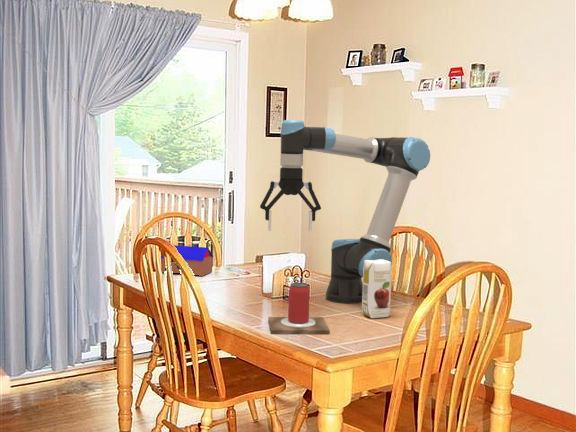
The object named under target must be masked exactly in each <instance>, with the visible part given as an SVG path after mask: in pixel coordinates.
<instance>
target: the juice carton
mask: <svg viewBox="0 0 576 432" xmlns="http://www.w3.org/2000/svg"><path fill="white" fill-rule="evenodd" d="M392 269H393V268H392V266H391V262H389V261H387V260H383V259H379V260H365V261H364V268H363V277H362V283H363V292H362V302H361V310H362V311H361V313H362V314H363V316H366V317H368V318H370V319H379V318H388V317H389V316H390V309H391V297H392V296H391V294H392V293H391V292H392V291H391V289H392Z"/></svg>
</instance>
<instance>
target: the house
mask: <svg viewBox="0 0 576 432" xmlns="http://www.w3.org/2000/svg"><path fill="white" fill-rule="evenodd" d="M173 245H174V246H175V247H176V248H177V250H178V252H179V253H180V254H181V255H182V257H183V258H184V259H185V261H186V262H187V263H188V265H189V267H190V268H191V269H192V271H193V273H194V274H195V275H199V276H198V277H203V276H205V275H208V274H210V273H213V258H214V256H213V253H212V252H211V250H210V248H209V247H206V246H205V247H204V246H203V247H202V246H192V245H175V244H173ZM160 259H161V265H160V266H162V272H164V271H165V263H164V257H163V256H162V255H161V256H160ZM171 266H172V271H173V273H180V271H179V269H178V268H177V266H176V265H175V264H174V263H173V262H172V263H171ZM195 275H194V276H195Z"/></svg>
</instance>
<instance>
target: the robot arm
mask: <svg viewBox="0 0 576 432" xmlns="http://www.w3.org/2000/svg"><path fill="white" fill-rule="evenodd" d="M430 150H431V149H429V145H428V143H427V142H426V141H424V140H423V139H422V138H419V137H413V136H409V137H395V136H393V137H374V136H371V137H367V138H363V137H356V136H352V135H351V136H350V135H347V134H346V135H345V134H339V133H336V132H335V130H334V128H331V127H326V126H324V127H323V126H322V127H321V126H320V127H319V126H305V122H304V121H303V120H299V119H297V120H296V119H295V120H293V119H284V120H282V122H281V127H280V166H281V167H280V168H279V182H278V181H273V180H271V181H270V183H269V188H268V190H267V192H266V194H265V195H264V198H263V200H262V201H261V203H260V209H262V210H264V213H265V215H264V216H265V221H268V222H267V223H268V224H267V225H268V227H267V228H268V231H272V210H271V209H272V207H273V206H275V204H276V203H277V202H278V200H280V198H282V196H283V195H285V196H296V195H299V196H300V198H301V199H302V201H304V203H305V204H306V206H308V208H309V209H310V210H309V211H308V232H312V231H313V230H312V229H313V222H315V221H316V212H317V211H320V210H322V206H321V205H320V202H319V201H318V198H317V196H316V194H315V191H314V189H313V183H312V182H311V181H308V182H304V180H303V179H304V177H303V175H304V169H303V168H302V167H303V166H304V151H310V152H315V153H316V152H317V153H324V154H330V155H337V156H343V157H349V158H355V159H361V160H363V161H364V162H365V163H370V164H375V165H378V166H381V167H385V169H386V170H387V172H388V173H387V177H386V179H385V182H384V184H383V188H382V191H381V193H380V196H379V199H378V202H377V204H376V207H375V210H374V213H373V215H372V217H371V220H370V223H369V226H368V228H367V231H366V233H365V234H363V235H361V236H360V238H342V239H333V241H332V244H331V260H330V262H331V265H330V279H329V283H328V284H327V285H328V286H327V288H326V291H325V300H327V301H329V302H333V303H338V304H339V303H340V304H359V303H362V292H363V268H364V261H365V260H379V259H383V260H387V261H389V262H391V267H392V265H393V260H392V255H391V253H390V252H391V249H392V247H391V245H390V240H391V237H392V234H393V231H394V230H395V226H396V223H397V222H398V221H397V220H398V219H399V215H400V213H401V209H402V207H403V203H404V202H405V200H406V199H405V198H406V196H407V193H408V190H409V188H410V185H411V182H412V181H413V180H416V179H418V175H419V173H420V172H421V171H422V170H424V169H427V167H428V166H429V165H430V164H429V163H430V160H431V151H430ZM277 187H279V188H280V190H279V192H278V193H277V194H276V195H275V196H274V197H273V199H272V200H271V201H270V202H269V203H268V205H267V202H268V201H269V199H270V198H271V195H272V193H273V191H274V189H276V188H277ZM304 187H305V189H307V190H308V193H309V194H310V196H311V200H312V201H313V203H314V205H315V206H314V205H313V204H312V203H311V201H310V200H309V199H308V198H307V197H306V195H305V194H304V193H303V191H302V190H303V188H304Z"/></svg>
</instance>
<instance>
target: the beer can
mask: <svg viewBox="0 0 576 432" xmlns="http://www.w3.org/2000/svg"><path fill="white" fill-rule="evenodd" d="M287 303H288V304H287V306H288V307H287V317H288V320H289V322H291V323H295V324H303V323H306V322H308V321H309V317H310V287H309V284H308V283H306V282H292V283H290V286H289V288H288V302H287Z"/></svg>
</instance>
